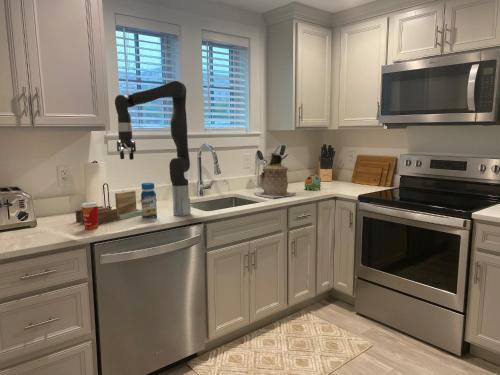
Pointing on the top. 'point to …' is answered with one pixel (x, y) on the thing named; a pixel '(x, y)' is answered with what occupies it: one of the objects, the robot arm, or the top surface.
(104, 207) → the offcut
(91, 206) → the paper cup
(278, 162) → the utensil crock
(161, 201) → the top surface
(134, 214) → the tray
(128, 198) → the wood grain block
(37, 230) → the top surface
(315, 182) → the turtle holder
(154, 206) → the beverage bottle
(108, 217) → the rack
